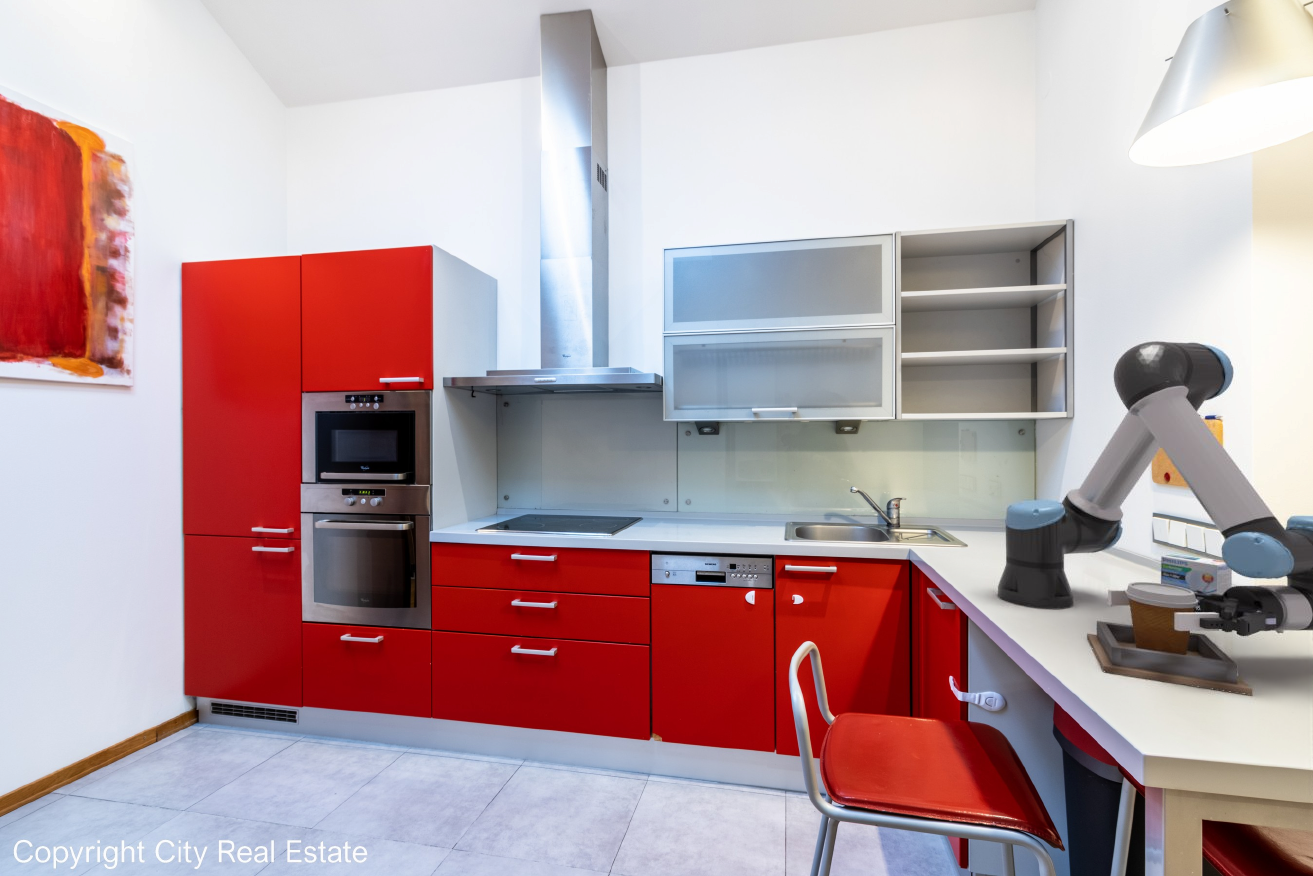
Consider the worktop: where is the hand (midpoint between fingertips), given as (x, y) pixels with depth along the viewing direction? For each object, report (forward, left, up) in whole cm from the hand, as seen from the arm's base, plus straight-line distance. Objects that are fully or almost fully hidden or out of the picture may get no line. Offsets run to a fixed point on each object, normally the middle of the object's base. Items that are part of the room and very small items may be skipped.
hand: (1140, 608), depth 100 cm
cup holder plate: (+3, +2, -9) cm, 10 cm away
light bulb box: (+19, +50, -10) cm, 54 cm away
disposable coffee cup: (+3, +2, -9) cm, 9 cm away
